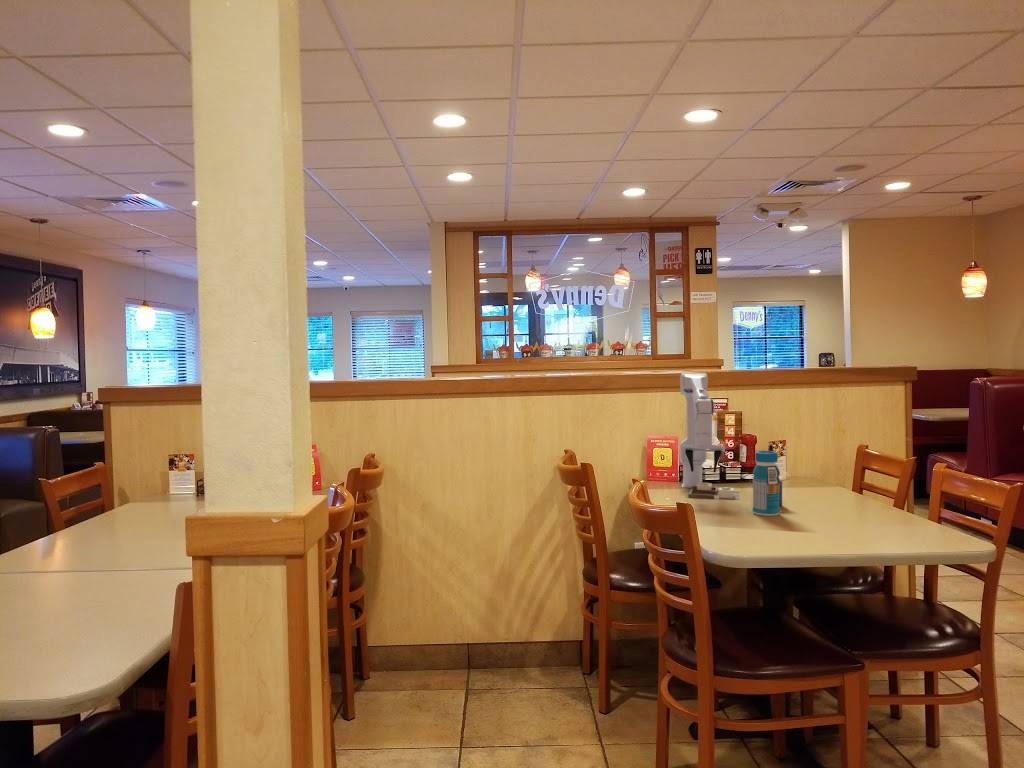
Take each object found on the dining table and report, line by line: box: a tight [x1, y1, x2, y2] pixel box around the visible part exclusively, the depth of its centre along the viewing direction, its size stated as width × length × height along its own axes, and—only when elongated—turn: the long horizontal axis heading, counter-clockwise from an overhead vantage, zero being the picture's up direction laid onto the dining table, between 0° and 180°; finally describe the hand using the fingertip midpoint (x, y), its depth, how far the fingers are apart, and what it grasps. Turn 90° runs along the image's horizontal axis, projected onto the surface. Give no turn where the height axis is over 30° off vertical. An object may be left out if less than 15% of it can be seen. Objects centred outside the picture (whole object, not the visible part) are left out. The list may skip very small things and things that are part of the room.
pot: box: [718, 486, 734, 498], centre depth 271 cm, size 5×5×3 cm
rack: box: [686, 486, 741, 501], centre depth 276 cm, size 17×18×2 cm
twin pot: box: [697, 481, 713, 490], centre depth 281 cm, size 5×5×3 cm
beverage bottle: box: [751, 450, 781, 517], centre depth 244 cm, size 8×8×20 cm
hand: (703, 471), depth 267 cm, fingers open, 7 cm apart
